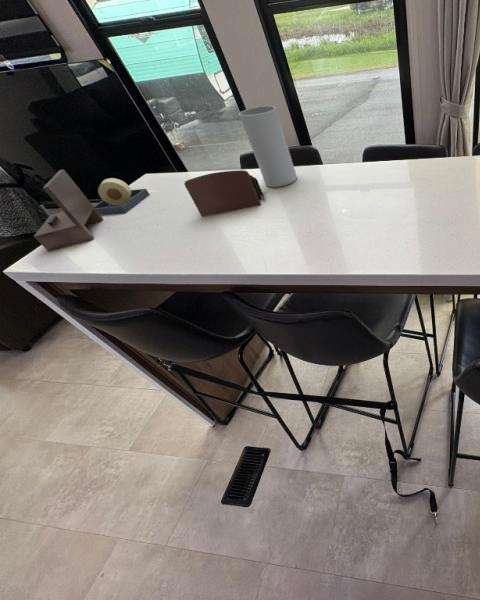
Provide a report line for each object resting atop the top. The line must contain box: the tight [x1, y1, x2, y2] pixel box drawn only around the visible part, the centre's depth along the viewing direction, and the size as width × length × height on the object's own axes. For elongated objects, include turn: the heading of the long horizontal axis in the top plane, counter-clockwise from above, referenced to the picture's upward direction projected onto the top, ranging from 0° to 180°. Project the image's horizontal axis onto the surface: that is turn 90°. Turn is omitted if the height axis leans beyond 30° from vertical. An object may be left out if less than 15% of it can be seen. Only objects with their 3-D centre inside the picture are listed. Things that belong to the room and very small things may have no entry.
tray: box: [93, 188, 150, 216], centre depth 124 cm, size 16×13×2 cm
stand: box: [33, 169, 105, 252], centre depth 100 cm, size 12×16×19 cm
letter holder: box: [183, 169, 265, 217], centre depth 108 cm, size 10×20×14 cm, turn 105°
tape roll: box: [97, 177, 132, 206], centre depth 121 cm, size 9×5×9 cm, turn 116°
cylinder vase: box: [238, 105, 298, 188], centre depth 119 cm, size 12×12×25 cm
